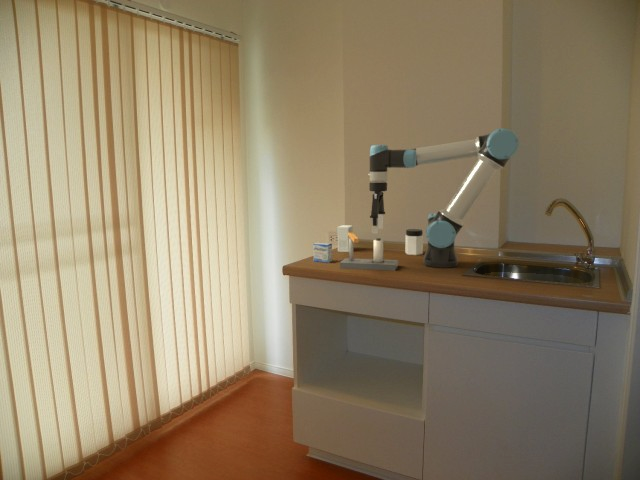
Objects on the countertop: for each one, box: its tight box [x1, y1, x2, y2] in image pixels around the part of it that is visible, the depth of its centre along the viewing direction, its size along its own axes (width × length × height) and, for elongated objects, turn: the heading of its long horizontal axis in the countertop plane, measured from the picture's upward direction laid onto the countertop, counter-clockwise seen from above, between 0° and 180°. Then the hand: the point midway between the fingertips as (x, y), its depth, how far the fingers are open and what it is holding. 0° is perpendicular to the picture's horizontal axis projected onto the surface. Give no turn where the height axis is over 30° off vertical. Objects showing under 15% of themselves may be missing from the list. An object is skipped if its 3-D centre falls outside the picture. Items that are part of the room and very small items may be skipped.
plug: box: [372, 237, 384, 263], centre depth 214 cm, size 4×4×13 cm
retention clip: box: [348, 232, 359, 244], centre depth 209 cm, size 17×3×2 cm, turn 4°
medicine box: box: [312, 242, 333, 264], centre depth 232 cm, size 8×4×9 cm, turn 62°
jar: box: [404, 228, 424, 256], centre depth 247 cm, size 9×8×12 cm
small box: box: [336, 224, 354, 253], centre depth 259 cm, size 8×6×13 cm
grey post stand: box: [339, 237, 399, 272], centre depth 215 cm, size 24×10×14 cm, turn 74°
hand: (377, 231), depth 213 cm, fingers open, 13 cm apart
